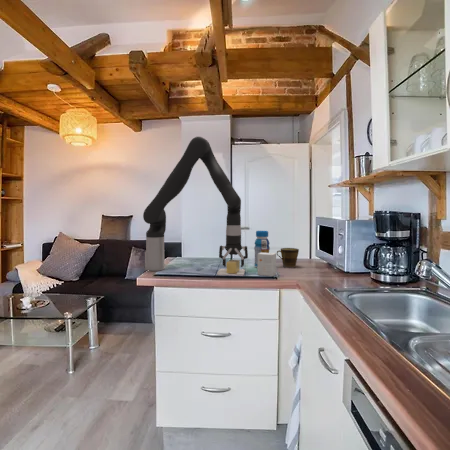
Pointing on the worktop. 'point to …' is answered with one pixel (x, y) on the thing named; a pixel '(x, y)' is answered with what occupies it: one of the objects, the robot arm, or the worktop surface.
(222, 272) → the floor panel
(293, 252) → the ceramic cup
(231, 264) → the block
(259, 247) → the teal labeled canister
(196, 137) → the robot arm
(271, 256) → the small box
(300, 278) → the worktop surface
